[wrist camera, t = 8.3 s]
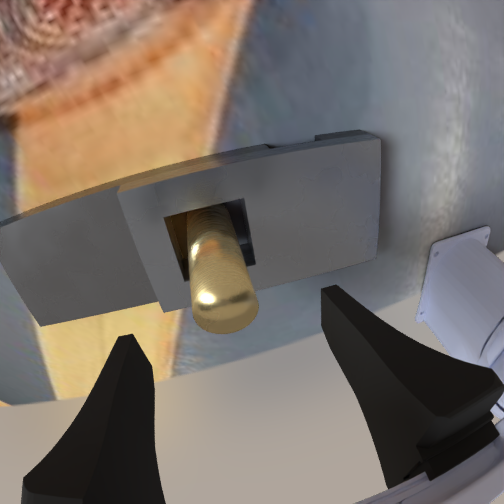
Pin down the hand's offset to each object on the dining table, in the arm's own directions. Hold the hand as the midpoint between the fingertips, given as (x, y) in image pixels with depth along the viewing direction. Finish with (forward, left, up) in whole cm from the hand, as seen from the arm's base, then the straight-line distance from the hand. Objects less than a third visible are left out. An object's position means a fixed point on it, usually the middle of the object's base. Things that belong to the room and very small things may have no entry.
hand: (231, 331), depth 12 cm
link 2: (0, -3, -9) cm, 9 cm away
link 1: (0, +5, -9) cm, 10 cm away
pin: (0, 0, -9) cm, 9 cm away
